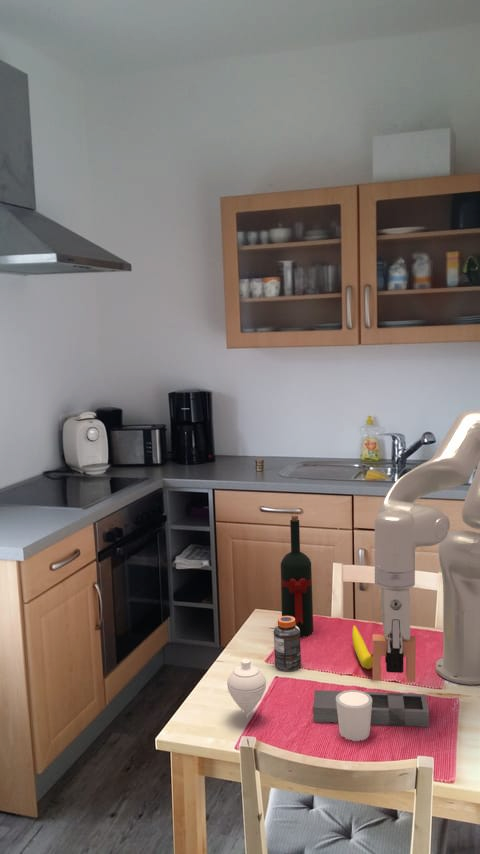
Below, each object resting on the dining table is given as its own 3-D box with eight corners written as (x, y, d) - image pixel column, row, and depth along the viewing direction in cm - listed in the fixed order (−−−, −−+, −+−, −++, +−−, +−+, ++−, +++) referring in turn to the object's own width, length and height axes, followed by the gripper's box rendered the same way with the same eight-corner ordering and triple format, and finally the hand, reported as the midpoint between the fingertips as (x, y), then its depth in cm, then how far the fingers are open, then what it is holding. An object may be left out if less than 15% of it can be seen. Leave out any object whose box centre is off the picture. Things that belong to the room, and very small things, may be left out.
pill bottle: (301, 660, 174) (300, 613, 172) (300, 672, 168) (299, 623, 166) (275, 660, 175) (274, 613, 173) (274, 671, 169) (272, 623, 167)
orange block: (414, 675, 148) (414, 635, 147) (415, 682, 145) (415, 642, 144) (372, 673, 149) (372, 634, 148) (372, 680, 146) (372, 640, 145)
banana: (360, 644, 181) (360, 619, 180) (380, 681, 162) (380, 654, 161) (348, 645, 181) (348, 620, 180) (367, 682, 162) (366, 654, 161)
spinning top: (254, 731, 144) (252, 672, 143) (221, 721, 149) (218, 664, 147) (274, 713, 151) (272, 656, 149) (241, 704, 155) (239, 649, 153)
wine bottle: (283, 642, 184) (280, 523, 179) (281, 625, 194) (277, 512, 189) (316, 641, 184) (313, 521, 179) (311, 624, 194) (308, 510, 190)
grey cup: (332, 724, 146) (332, 690, 145) (367, 722, 147) (367, 688, 146) (340, 744, 139) (339, 708, 138) (377, 741, 140) (376, 706, 139)
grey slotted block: (425, 708, 151) (425, 694, 150) (429, 727, 144) (429, 712, 143) (315, 703, 154) (314, 690, 154) (313, 721, 147) (313, 707, 147)
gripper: (418, 591, 136) (417, 688, 138) (411, 563, 152) (410, 650, 154) (375, 590, 137) (375, 686, 139) (373, 562, 153) (373, 649, 155)
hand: (394, 666), depth 146 cm, fingers closed on orange block, 3 cm apart
